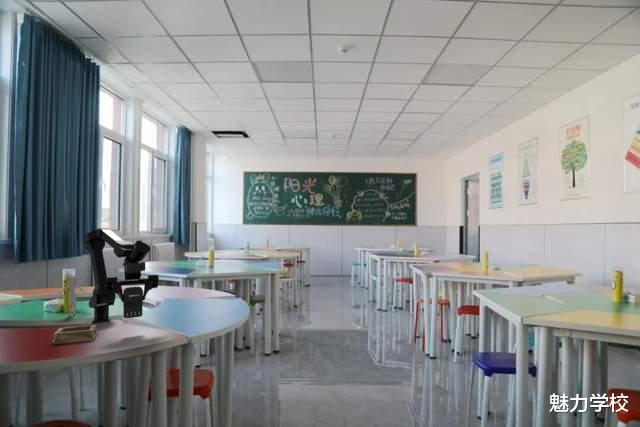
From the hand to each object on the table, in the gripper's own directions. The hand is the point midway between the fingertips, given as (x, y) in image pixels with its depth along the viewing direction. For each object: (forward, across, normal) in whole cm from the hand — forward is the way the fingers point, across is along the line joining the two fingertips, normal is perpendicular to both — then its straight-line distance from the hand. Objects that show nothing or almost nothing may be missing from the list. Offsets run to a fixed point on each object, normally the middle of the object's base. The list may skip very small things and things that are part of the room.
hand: (133, 300), depth 152 cm
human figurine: (-27, -23, +46) cm, 58 cm away
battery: (+4, 0, +6) cm, 7 cm away
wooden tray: (+6, -19, +12) cm, 23 cm away
